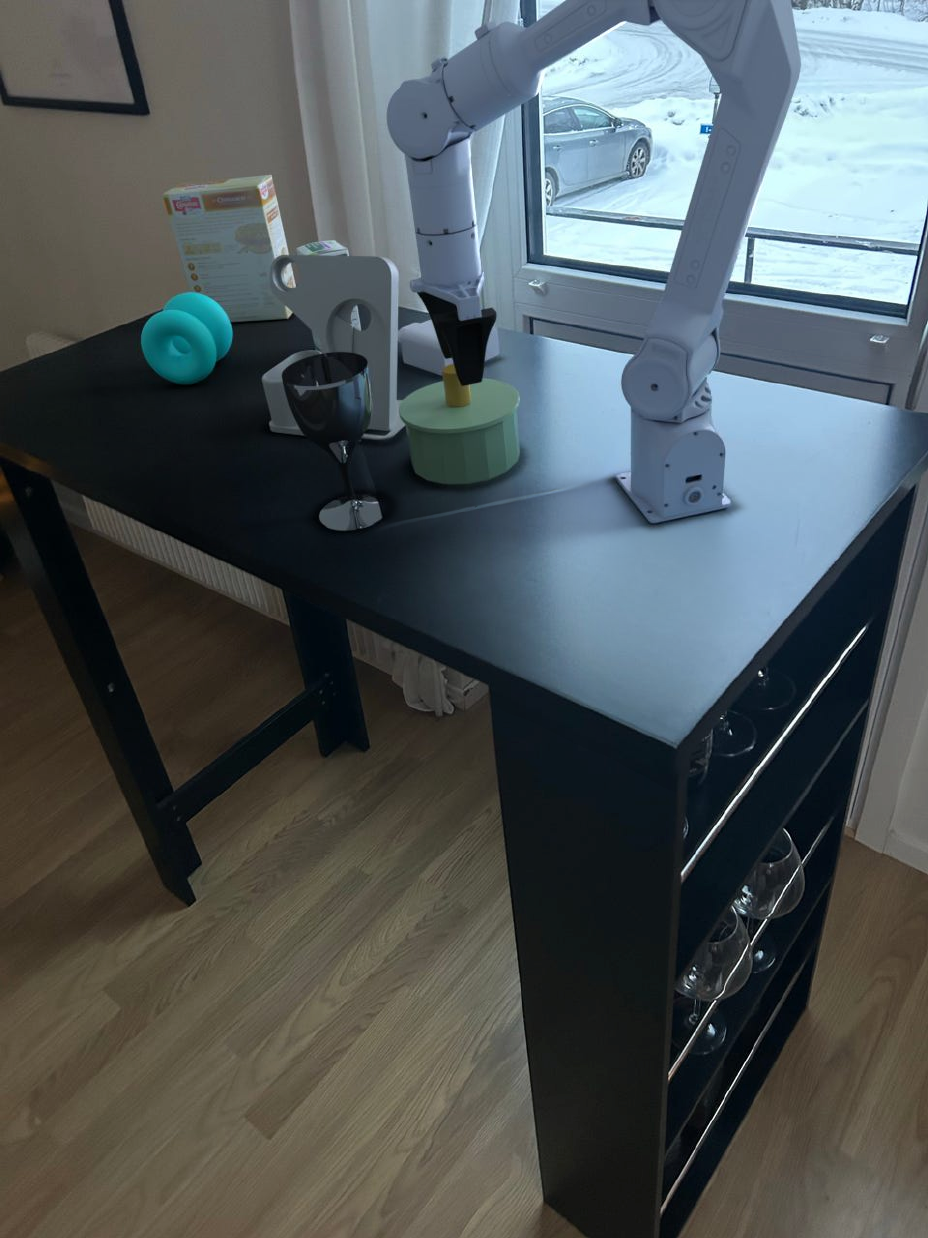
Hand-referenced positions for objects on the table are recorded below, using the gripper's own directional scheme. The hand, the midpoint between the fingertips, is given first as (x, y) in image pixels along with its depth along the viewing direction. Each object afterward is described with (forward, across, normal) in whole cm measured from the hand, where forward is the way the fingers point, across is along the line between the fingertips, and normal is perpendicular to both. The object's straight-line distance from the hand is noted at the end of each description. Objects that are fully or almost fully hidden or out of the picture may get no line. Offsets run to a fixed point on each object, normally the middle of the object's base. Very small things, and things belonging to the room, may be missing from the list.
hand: (462, 369), depth 92 cm
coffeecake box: (+10, -64, -22) cm, 68 cm away
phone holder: (+10, -17, -12) cm, 23 cm away
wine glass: (+10, +6, -14) cm, 18 cm away
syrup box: (+10, -39, -10) cm, 42 cm away
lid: (+4, 0, -1) cm, 4 cm away
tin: (+10, 0, -1) cm, 10 cm away
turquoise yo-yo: (+10, -42, -30) cm, 53 cm away
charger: (+10, -31, +2) cm, 33 cm away
